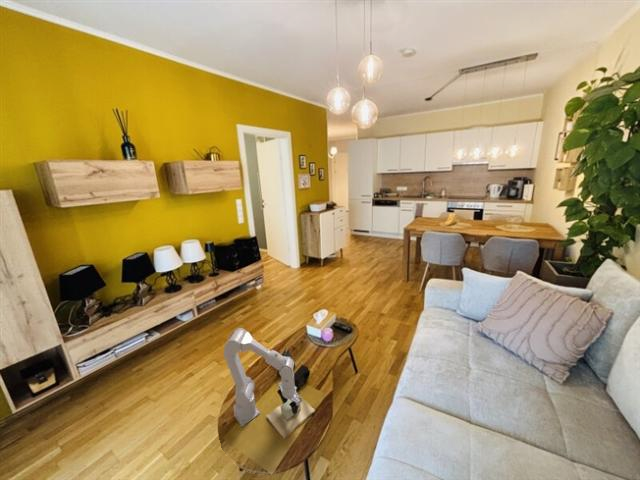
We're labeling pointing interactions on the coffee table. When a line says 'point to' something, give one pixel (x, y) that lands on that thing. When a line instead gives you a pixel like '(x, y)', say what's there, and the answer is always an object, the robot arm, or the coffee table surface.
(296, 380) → the digital camera
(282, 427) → the birch board
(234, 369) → the robot arm
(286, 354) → the phone stand
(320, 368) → the coffee table surface
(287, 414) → the block
